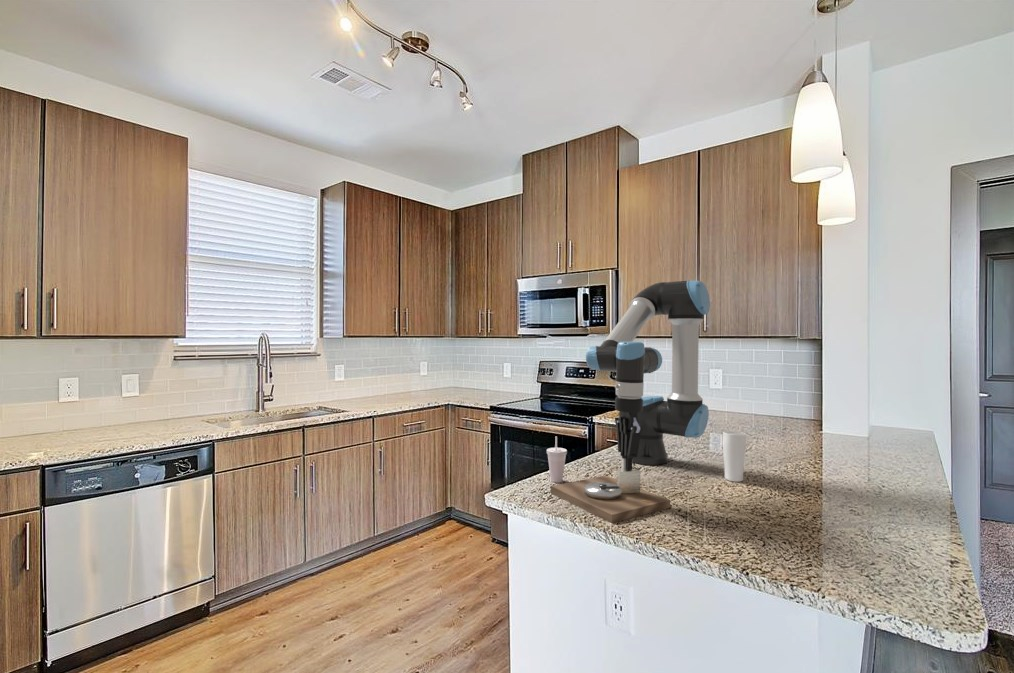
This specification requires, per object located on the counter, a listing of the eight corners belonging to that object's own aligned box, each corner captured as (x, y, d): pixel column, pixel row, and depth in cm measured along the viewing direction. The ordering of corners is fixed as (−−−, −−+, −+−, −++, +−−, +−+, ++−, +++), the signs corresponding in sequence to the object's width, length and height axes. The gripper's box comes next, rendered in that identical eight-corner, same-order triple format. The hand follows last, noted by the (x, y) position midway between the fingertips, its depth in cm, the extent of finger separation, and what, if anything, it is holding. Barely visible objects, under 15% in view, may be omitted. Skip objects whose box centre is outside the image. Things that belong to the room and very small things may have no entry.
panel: (605, 481, 149) (605, 475, 149) (670, 507, 128) (670, 499, 128) (550, 493, 138) (550, 485, 138) (611, 523, 117) (611, 514, 117)
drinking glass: (740, 477, 156) (741, 431, 156) (749, 483, 149) (749, 435, 149) (719, 476, 156) (719, 430, 156) (726, 482, 150) (727, 434, 150)
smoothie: (543, 481, 149) (543, 436, 149) (550, 476, 154) (551, 433, 154) (562, 485, 146) (562, 439, 146) (569, 479, 151) (570, 435, 151)
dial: (631, 485, 139) (631, 465, 139) (646, 497, 129) (647, 475, 129) (579, 488, 136) (579, 467, 136) (591, 500, 126) (591, 477, 126)
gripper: (607, 393, 139) (604, 473, 140) (626, 400, 127) (623, 488, 128) (631, 393, 141) (628, 472, 142) (652, 400, 128) (649, 487, 129)
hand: (626, 480), depth 135 cm, fingers closed
